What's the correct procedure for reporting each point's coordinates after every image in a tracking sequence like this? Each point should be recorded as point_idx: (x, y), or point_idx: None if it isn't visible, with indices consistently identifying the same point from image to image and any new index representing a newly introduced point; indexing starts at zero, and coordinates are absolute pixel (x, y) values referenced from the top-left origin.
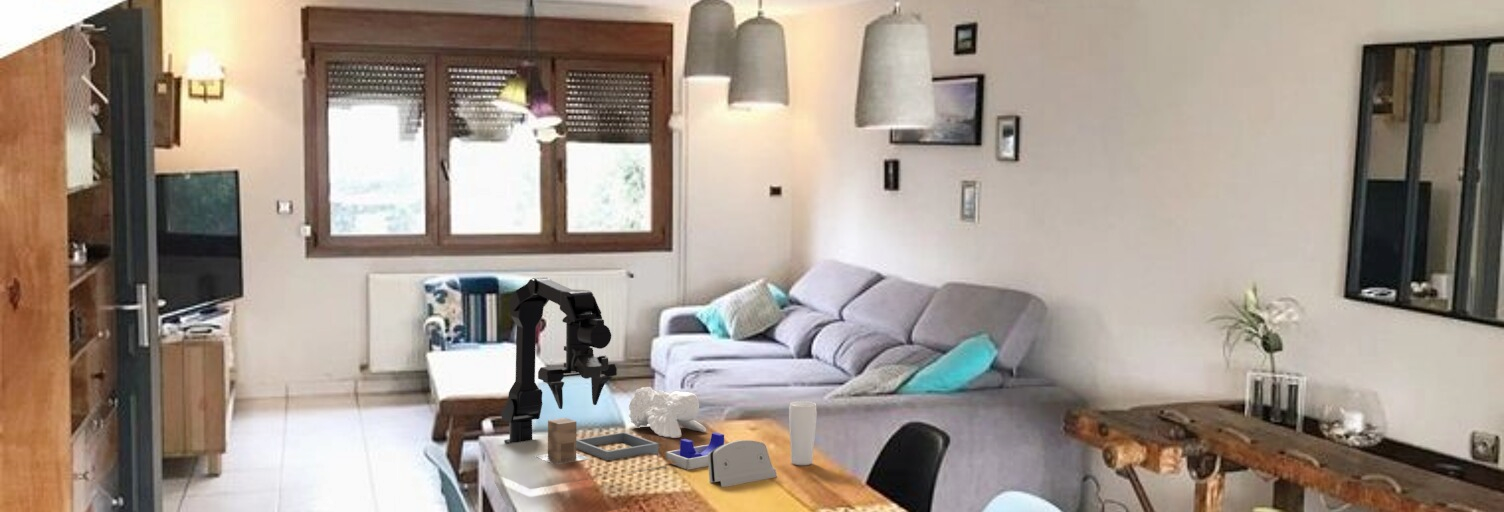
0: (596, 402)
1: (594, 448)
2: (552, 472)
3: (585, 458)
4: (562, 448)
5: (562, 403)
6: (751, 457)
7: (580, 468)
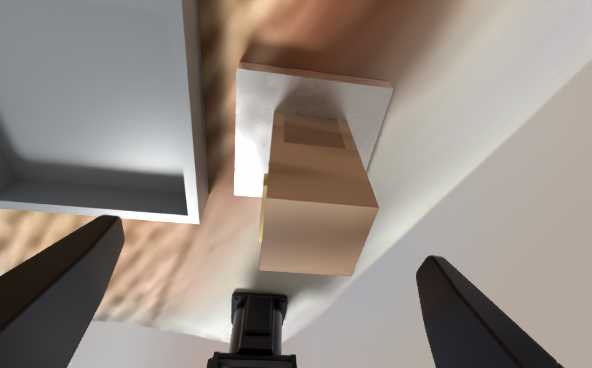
0: (93, 225)
1: (190, 106)
2: (408, 68)
3: (251, 82)
4: (336, 138)
5: (460, 288)
6: None
7: (301, 42)
